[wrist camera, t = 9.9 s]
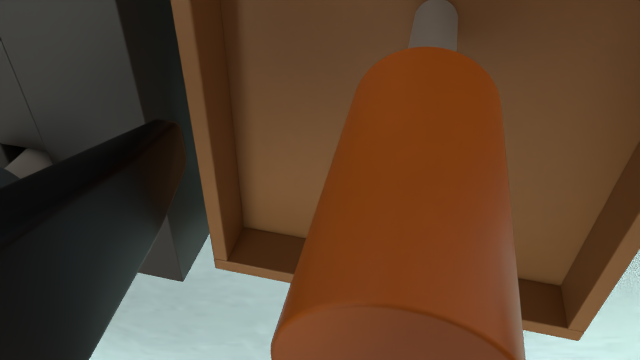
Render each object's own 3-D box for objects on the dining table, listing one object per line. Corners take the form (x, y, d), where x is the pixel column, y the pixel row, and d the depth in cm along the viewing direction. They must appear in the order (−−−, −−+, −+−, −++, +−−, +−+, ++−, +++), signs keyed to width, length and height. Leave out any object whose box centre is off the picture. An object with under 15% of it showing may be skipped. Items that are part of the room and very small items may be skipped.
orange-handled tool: (478, 73, 15) (490, 465, 7) (377, 61, 15) (273, 412, 7) (504, -31, 13) (569, 341, 5) (389, -42, 13) (263, 279, 5)
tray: (568, 286, 20) (578, 341, 18) (236, 224, 22) (214, 268, 21) (1133, -719, 7) (1412, -916, 5) (137, -632, 9) (43, -742, 7)
